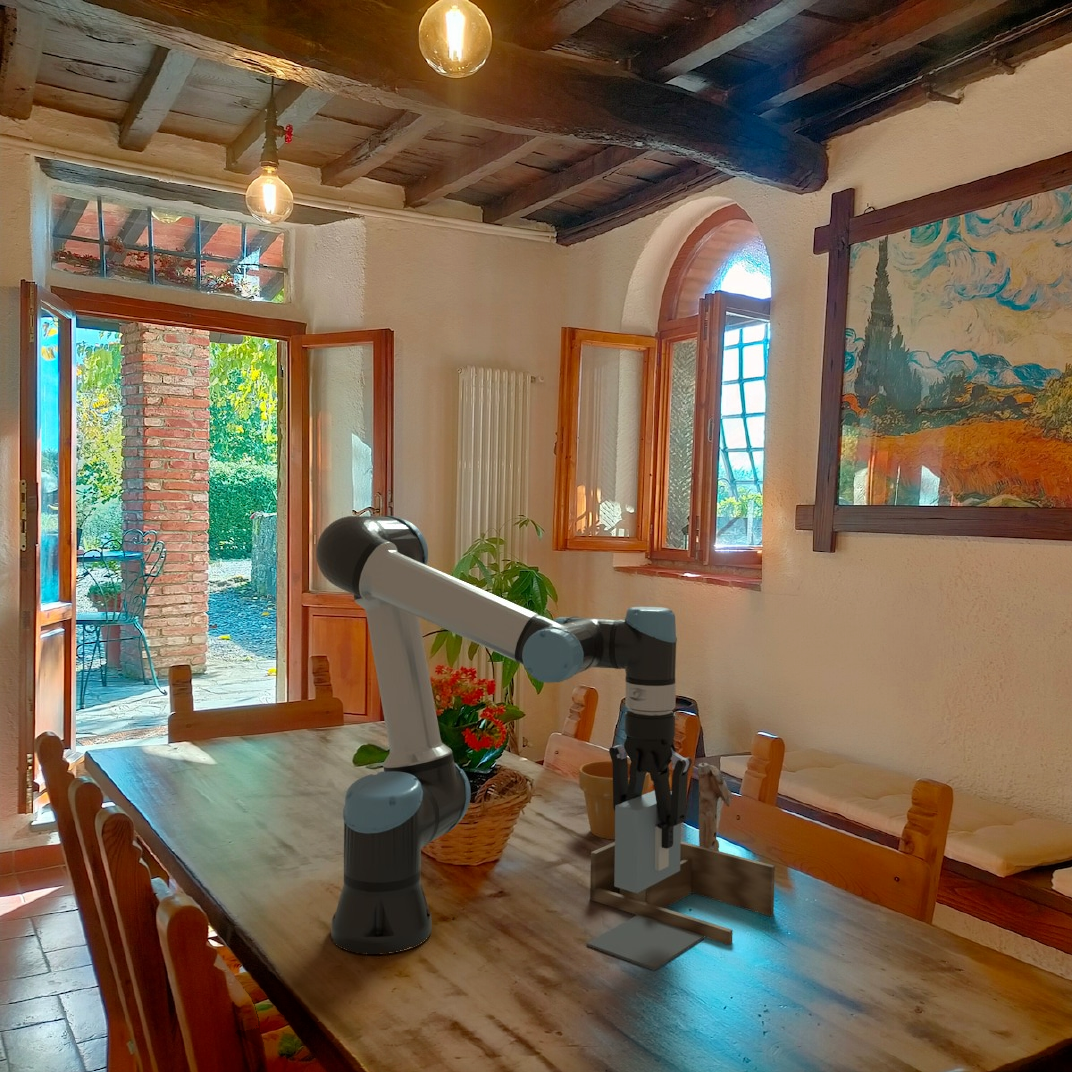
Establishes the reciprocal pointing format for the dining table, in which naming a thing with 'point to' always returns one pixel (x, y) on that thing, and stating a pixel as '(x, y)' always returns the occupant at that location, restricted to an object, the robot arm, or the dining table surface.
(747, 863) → the rack
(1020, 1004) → the dining table surface
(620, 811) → the grey rectangular block
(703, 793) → the figurine
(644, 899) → the offcut lower
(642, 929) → the mat
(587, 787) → the flower pot
